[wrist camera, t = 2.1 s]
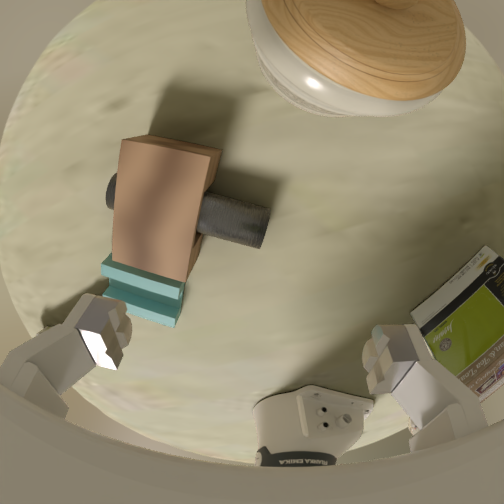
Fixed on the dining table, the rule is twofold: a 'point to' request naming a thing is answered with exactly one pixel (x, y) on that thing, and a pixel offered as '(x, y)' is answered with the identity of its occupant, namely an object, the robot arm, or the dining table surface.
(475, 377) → the tea box
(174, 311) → the u channel
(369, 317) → the dining table surface
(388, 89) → the jar
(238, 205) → the axle
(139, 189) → the bearing block
